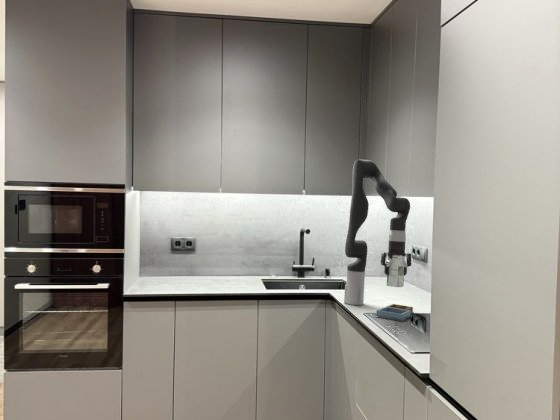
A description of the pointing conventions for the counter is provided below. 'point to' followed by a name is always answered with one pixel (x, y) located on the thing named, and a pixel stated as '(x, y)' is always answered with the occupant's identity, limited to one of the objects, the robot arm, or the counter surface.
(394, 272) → the syrup box
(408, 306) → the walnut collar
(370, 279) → the counter surface
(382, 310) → the slate tray
